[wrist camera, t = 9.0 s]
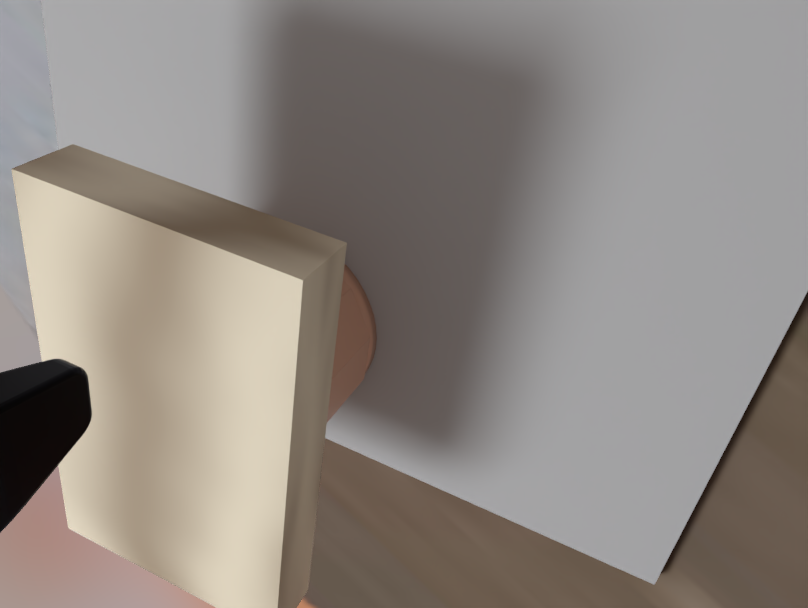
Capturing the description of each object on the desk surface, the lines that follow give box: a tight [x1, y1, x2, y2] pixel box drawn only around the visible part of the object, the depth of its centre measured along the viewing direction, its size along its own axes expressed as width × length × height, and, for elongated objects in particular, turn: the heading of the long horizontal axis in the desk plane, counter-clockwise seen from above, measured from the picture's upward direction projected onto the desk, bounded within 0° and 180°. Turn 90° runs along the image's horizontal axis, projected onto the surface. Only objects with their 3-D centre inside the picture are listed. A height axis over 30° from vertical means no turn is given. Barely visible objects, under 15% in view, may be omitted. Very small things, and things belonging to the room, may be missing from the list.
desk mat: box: [41, 0, 808, 585], centre depth 20 cm, size 22×23×1 cm
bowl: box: [327, 264, 377, 422], centre depth 23 cm, size 6×6×4 cm
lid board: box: [12, 144, 347, 608], centre depth 20 cm, size 7×12×2 cm, turn 171°
